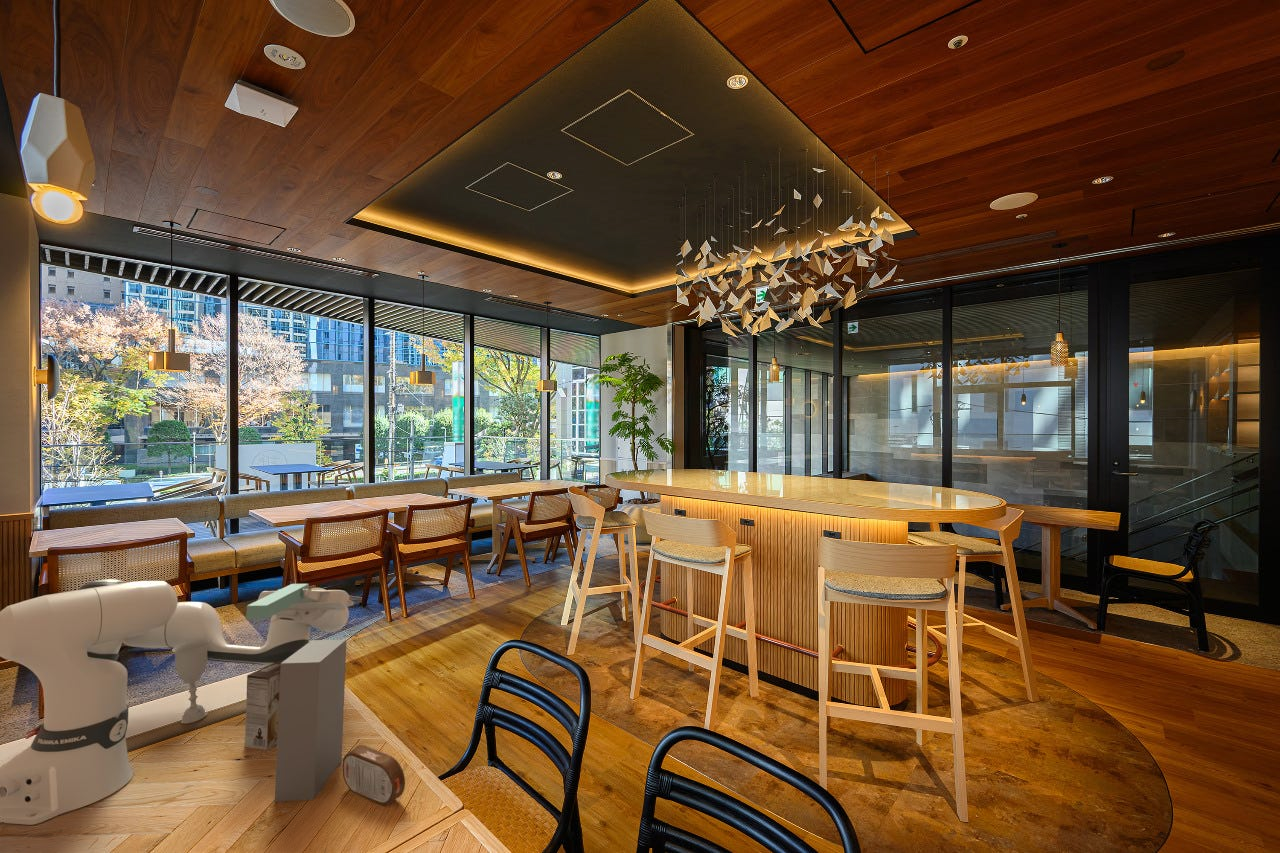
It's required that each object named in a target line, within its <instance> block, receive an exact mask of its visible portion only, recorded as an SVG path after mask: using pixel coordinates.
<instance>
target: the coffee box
mask: <svg viewBox="0 0 1280 853" xmlns="http://www.w3.org/2000/svg"><path fill="white" fill-rule="evenodd" d="M283 661H285V660H280V661H277V662H275V663H273V664H271V665H269V666H267V665H265V667H263V668H260V669H258V670H256V671H253V672H252V673H249V674H247V675H246V698H245V699H246V703H245V728H244V729H245V730H244V732H245V733H244V747H245V748H252V749H257V748H258V750H265V751H269V750H270V749H271V748H273V747H274V746H277V734H278V712H279V690H280V668H281V663H282V662H283Z"/></svg>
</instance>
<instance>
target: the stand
mask: <svg viewBox="0 0 1280 853" xmlns="http://www.w3.org/2000/svg"><path fill="white" fill-rule="evenodd" d="M346 658H347V639H346V638H345V639H312V640H311V641H310V640H309V643H308V644H306V645H305V646H304V647H302V648H301V649H299V650H298V651H297V652H295V653H294V654H293V655H291V656H290V657H289V658H287V659H286V660H285V661H283V662H282V663H281V668H280V690H279V712H278V734H277V744H276V757H275V758H276V762H275V780H274V781H275V784H274V800H273V801H274V803H278V802H279V803H281V802H283V803H284V802H297V801H311V800H312V801H313V800H315V798H316V797H317V796H318V795H319V793H320V791H322V789H323V788H324V787H325V785H326V783H328V781H329V780H330V778H331V777H332V776H333V775H334V773H335V772H336V770H337V769H336V768H339V766H340V765H341V763H343V759H342V758H343V735H344V732H343V731H344V710H345V690H346V689H345V687H346V665H347V664H346V661H347V659H346ZM339 764H340V765H339ZM334 771H335V772H334ZM333 772H334V773H333ZM331 775H332V776H331Z"/></svg>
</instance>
